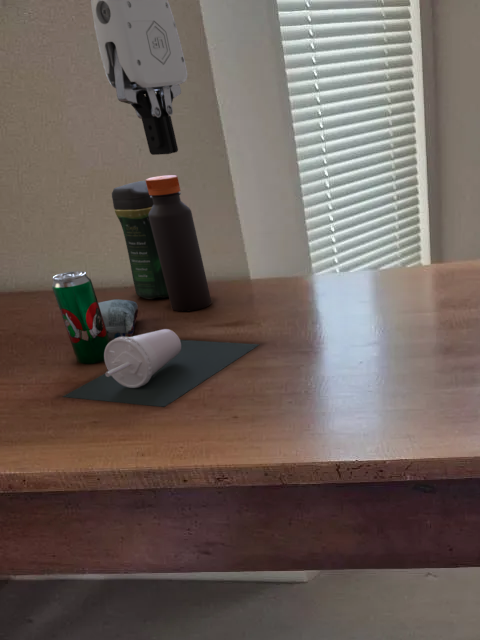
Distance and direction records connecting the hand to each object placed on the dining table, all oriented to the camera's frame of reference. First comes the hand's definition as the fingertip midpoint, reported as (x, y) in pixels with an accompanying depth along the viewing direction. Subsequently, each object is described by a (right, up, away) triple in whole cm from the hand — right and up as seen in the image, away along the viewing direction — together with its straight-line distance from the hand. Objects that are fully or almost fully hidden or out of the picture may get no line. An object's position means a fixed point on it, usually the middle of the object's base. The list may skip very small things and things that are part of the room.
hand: (164, 153), depth 92 cm
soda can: (-14, -23, +13) cm, 30 cm away
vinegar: (-6, -9, +33) cm, 35 cm away
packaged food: (-16, -17, +22) cm, 32 cm away
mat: (-2, -26, +6) cm, 27 cm away
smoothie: (-2, -22, +7) cm, 23 cm away
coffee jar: (-14, -3, +42) cm, 45 cm away
